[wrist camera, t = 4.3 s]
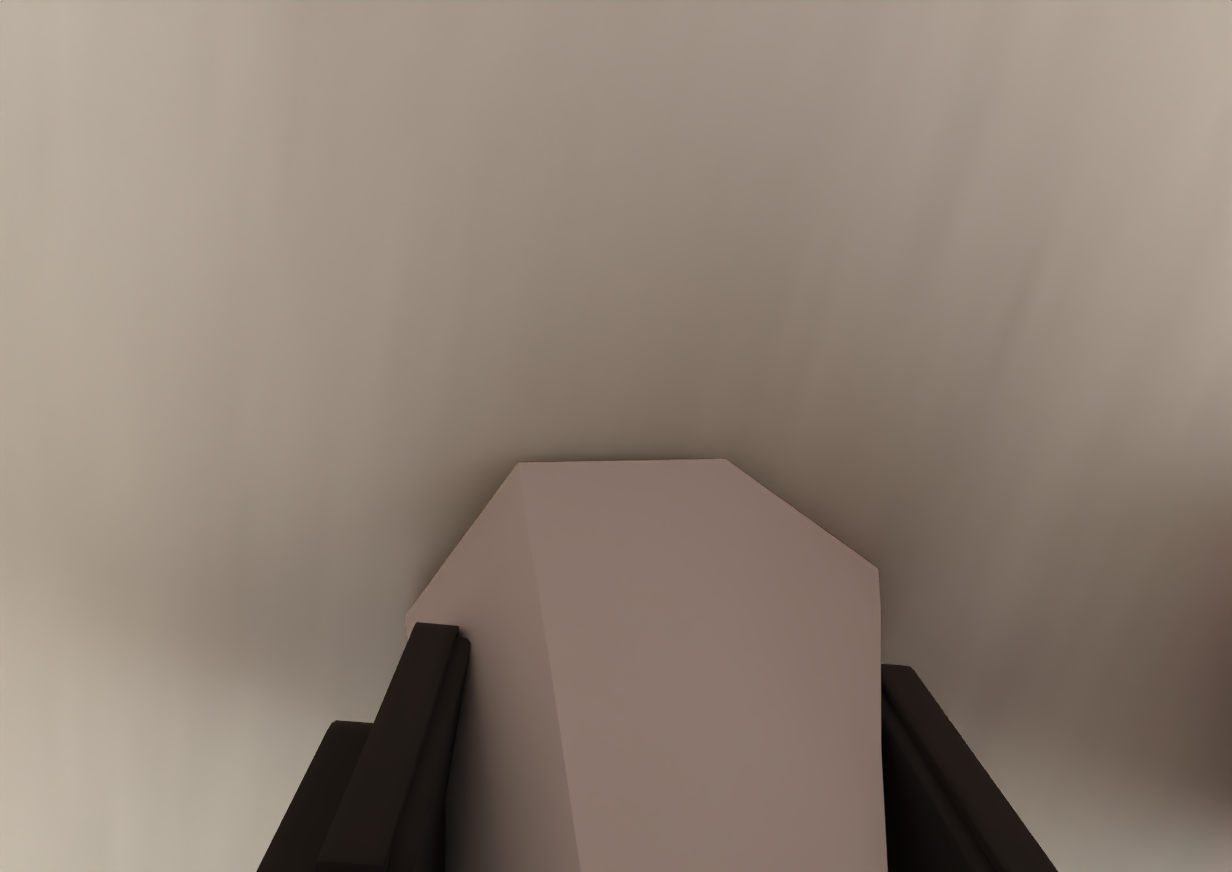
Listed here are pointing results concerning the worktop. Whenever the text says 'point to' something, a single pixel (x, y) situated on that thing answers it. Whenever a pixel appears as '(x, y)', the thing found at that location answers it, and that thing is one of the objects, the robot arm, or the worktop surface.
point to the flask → (660, 678)
